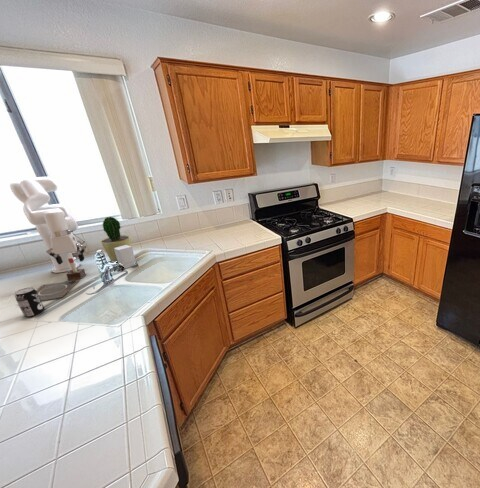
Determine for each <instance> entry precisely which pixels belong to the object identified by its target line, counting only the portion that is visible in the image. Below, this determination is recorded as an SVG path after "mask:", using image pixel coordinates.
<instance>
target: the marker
mask: <svg viewBox="0 0 480 488" xmlns="http://www.w3.org/2000/svg"><path fill="white" fill-rule="evenodd" d="M68 261H69V263H70V265H71V268H72V271H73V272H77V269H78V268H76V267H75V264H74V261H75V260H74V261H73V258H69V259H68Z"/></svg>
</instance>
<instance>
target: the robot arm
mask: <svg viewBox="0 0 480 488" xmlns="http://www.w3.org/2000/svg"><path fill="white" fill-rule="evenodd" d="M9 187H10V188H9V189H10V190H11V192H12V194H13V195H14V196H15V198H16V199H18V200H19V201H20V202H21V203H23V207H22V211H23V213H24V216H25V217H26V218H27V221H29V223H30V224H31V225H33V226H35V229H36V231H37V232H38V234H39V236H40V237H41V239H42V241H43V243H44V245H45V248H46V250H45V253H47V254H48V255H49V257H50V260H51V262H52V265H53V268H52V269H51V272H52V273H54V274H58V273H59V274H60V273H66V272H69V271H71V270H72V268H71V265H70V263H69V261H68V259H69V258H73V261H74V264H75V267H76V269H78V268H79V267H80V263H79V262H83V261H85V256H84V252H85V251H86V249H87V245H85V244H81V243H79V241H78V240H77V237H75V235H74V234H73V232H76V231H77V230H78V229H79V225H78V222H77V221H76V218H75V217H74V216H73V214H72V213H71V211H70V209H69V208H68V207H67V206H66V205H65V204H63V203H54V204H48V203H50V201H51V195H49V193H53V192H56V191H57V190H58V184H57V182H56V181H55V180H54V178H52V177H50V176H38V177H37V176H36V177H27V178H23V179H18V180H15V181H12V182H11V183H10V184H9ZM73 253H76V255H77V257H78V260H79V262H76V260H77V257H75V256H73Z"/></svg>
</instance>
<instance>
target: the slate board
mask: <svg viewBox="0 0 480 488" xmlns="http://www.w3.org/2000/svg"><path fill="white" fill-rule="evenodd" d="M80 281H81V279H77V280H70V281H68V280H67V281H63V282H62V281H60V282H54V283H47V284H46V283H45V284H42V285H41V286H39V287H38V288H37V289H35V290H36V291H37V293H38V295H39V298H40V300H41V302H46V301H52V300H58V299H63V298H64V297H65V296H66V295H67V294H68V293H69V292H70V291H71V290H72V289H73V288H74V287H75V286H76V285H78V283H79V282H80Z"/></svg>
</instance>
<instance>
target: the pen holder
mask: <svg viewBox="0 0 480 488" xmlns="http://www.w3.org/2000/svg"><path fill="white" fill-rule="evenodd" d="M76 269H77V272H73V271H72V270H70V271H67V273H66V274H65V276H66V279H67V281H74V280H78V279H80V280H82V279H83V278H84V277H85V276H86V275H87V273H86V270H85V269H84V268H76Z"/></svg>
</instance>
